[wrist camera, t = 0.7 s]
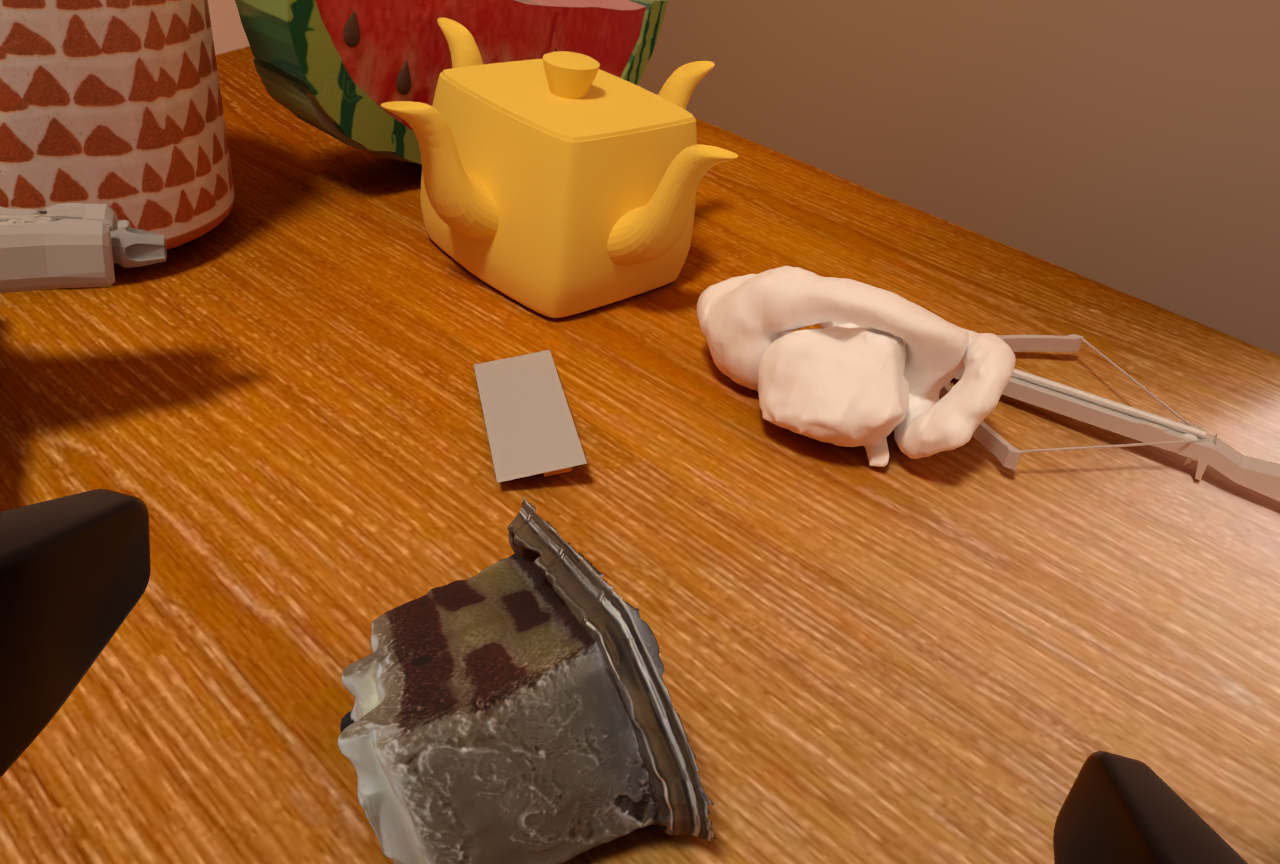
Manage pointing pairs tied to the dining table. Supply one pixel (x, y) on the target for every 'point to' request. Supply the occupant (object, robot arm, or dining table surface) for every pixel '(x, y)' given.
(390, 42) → the fruit slice
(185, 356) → the dining table surface
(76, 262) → the gun
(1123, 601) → the dining table surface
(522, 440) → the grey rectangular card
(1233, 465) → the crossbow
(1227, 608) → the dining table surface
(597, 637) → the chocolate cake
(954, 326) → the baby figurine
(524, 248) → the teapot
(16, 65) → the vase
